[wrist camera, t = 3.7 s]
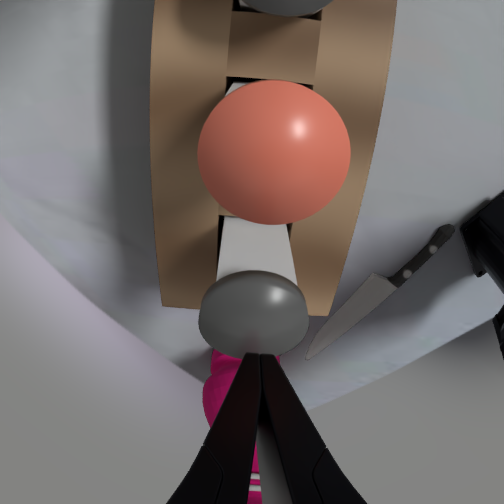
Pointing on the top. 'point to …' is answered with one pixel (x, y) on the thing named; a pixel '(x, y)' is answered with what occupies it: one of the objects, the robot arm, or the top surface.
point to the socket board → (214, 90)
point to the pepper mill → (213, 399)
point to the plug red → (273, 152)
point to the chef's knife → (372, 295)
